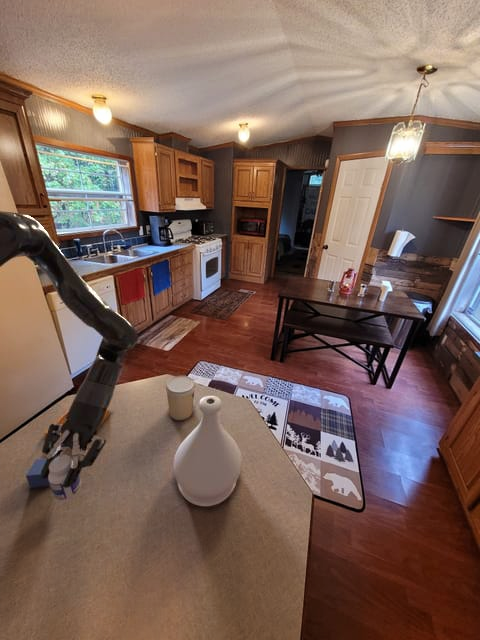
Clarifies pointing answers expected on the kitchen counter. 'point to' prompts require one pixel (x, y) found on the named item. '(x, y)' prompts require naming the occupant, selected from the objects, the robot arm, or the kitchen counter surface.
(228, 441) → the vase
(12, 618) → the kitchen counter surface
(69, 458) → the pill bottle
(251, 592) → the kitchen counter surface
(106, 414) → the amber tray
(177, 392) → the cream upright cylinder
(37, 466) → the blue block
